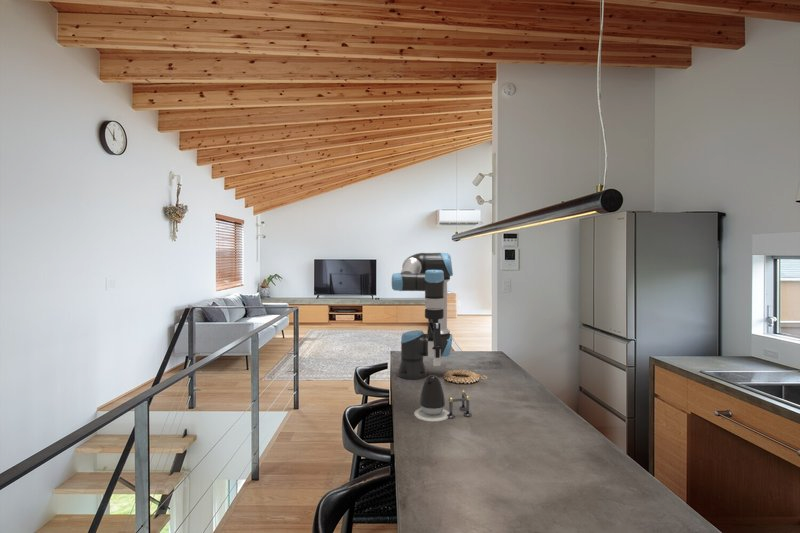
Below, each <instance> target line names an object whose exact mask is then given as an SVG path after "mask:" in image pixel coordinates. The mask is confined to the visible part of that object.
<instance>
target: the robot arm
mask: <svg viewBox="0 0 800 533" xmlns="http://www.w3.org/2000/svg"><path fill="white" fill-rule="evenodd" d="M452 276H454V273H453V265H452V257H451V254H450V253H448V252H447V253H446V252H419V253H414V254H413V255H410V256H409V257H407V258H406V259H404V261H403V263H402V269H401V271H400V272H395V273H393V274H392V276H391V289H392V290H393V291H397V292H398V291H399V292H424V300H423V303H424V308H425V309H424V318H425V319H427V321H428V322H427V324H428V325H427V332H426V333H424V331H423V330H418V329H417V330H409V331H405V332H404V333H402V335H401V340H400V343H401V346H400V347H401V348H400V350H401V351H400V357H401V358H400V363H399V366H398V370H397V376H398V378H401V379H405V380H420V379H424V378H427V374H428V373H427V369H426V365H425V362H424V357H428V358H432V360H433V361H432V362H433V364H432V365H433V367H441V362H442V361H441V360H442V359H441V358H444V357H449V356H450V354H451V351H452V342H453V334H451V332H450V330H449V328H448V282H449V281H450V280H451V277H452Z"/></svg>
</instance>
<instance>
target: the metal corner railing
mask: <svg viewBox="0 0 800 533" xmlns="http://www.w3.org/2000/svg"><path fill="white" fill-rule="evenodd" d="M460 393H461V398H453V397H451V396H450V397H448V401H449V403H448V404H449V408H448V409H449V410H448V412H449V414H447V416H448V419H455V418H456V414H453V403H455V402H461V405H460V406H459V408H458V409H459V410H460V411H465V412H463V416H464V417H466V418H471V417H473V416H472V415H473V414H472V413H471V412H470V400H471V397H470V395H467V393H466V391H465V390H461V392H460Z"/></svg>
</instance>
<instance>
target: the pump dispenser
mask: <svg viewBox="0 0 800 533" xmlns="http://www.w3.org/2000/svg"><path fill="white" fill-rule="evenodd" d="M418 404H419V405H420V408H421V409H422V411H423V412H424V413H426V414H428V415H437V414H439V413H441V412H442V410H443V409H445V406H446V398H445V393H444V389H443V385H442V382H441V380H440V378H439V377H438V376H437V375H435V374H430V375H428V376H426V377H425V380H424V382H423V383H422V387H421V390H420V395H419V403H418Z"/></svg>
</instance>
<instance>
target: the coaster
mask: <svg viewBox="0 0 800 533" xmlns="http://www.w3.org/2000/svg"><path fill="white" fill-rule="evenodd" d="M413 414H414V417H415V418H416V419H418V420H420V421H424V422H433V423H435V422H442V421H443V422H444V421H446V420H447V419H449V418H448V416H447V414H449V410H447V409H445V408H443V410H442V412H441V413H439V414H437V415H428V414H426V413H424V412H423V411H422V409H421V407H419V408H417V409H416V410H415V411H414V413H413Z"/></svg>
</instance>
